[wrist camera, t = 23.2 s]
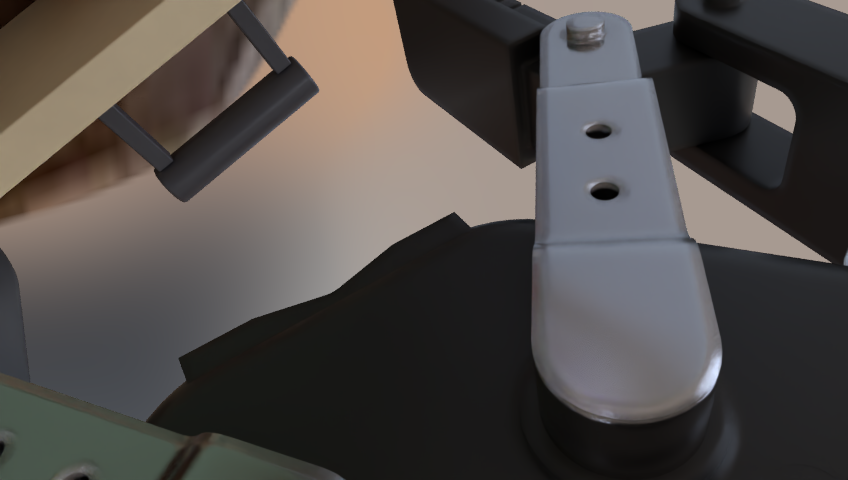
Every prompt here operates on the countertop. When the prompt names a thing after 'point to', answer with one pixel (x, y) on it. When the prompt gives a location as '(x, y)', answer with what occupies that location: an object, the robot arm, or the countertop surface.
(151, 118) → the countertop surface
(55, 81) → the drawer
